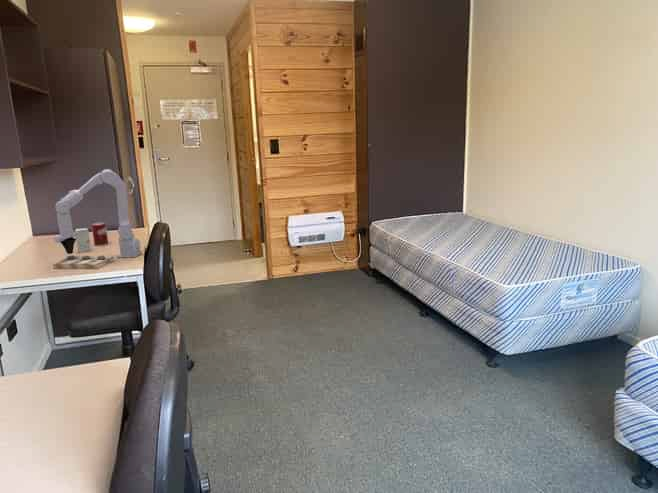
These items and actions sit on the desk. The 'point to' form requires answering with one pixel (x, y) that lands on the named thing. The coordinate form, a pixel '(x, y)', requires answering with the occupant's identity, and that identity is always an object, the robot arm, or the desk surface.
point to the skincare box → (83, 240)
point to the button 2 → (101, 257)
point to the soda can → (99, 234)
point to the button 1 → (70, 257)
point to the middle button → (85, 257)
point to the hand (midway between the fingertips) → (70, 253)
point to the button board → (82, 263)
